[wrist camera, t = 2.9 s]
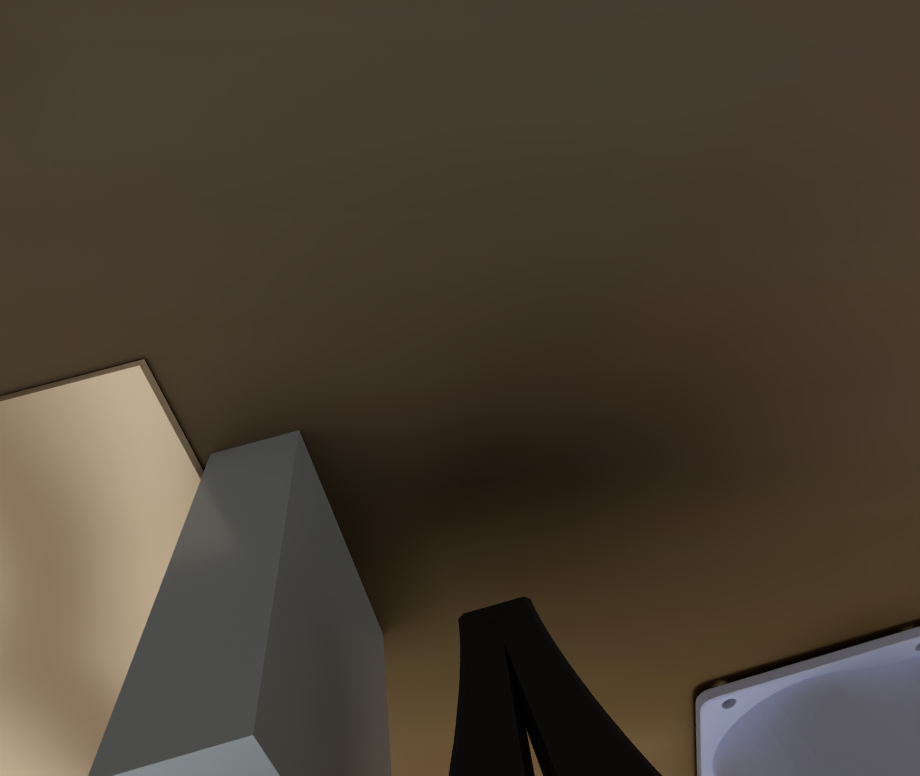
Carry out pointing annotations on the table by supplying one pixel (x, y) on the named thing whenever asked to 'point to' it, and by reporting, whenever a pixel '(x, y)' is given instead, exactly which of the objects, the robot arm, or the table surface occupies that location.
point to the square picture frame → (255, 637)
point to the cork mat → (81, 554)
